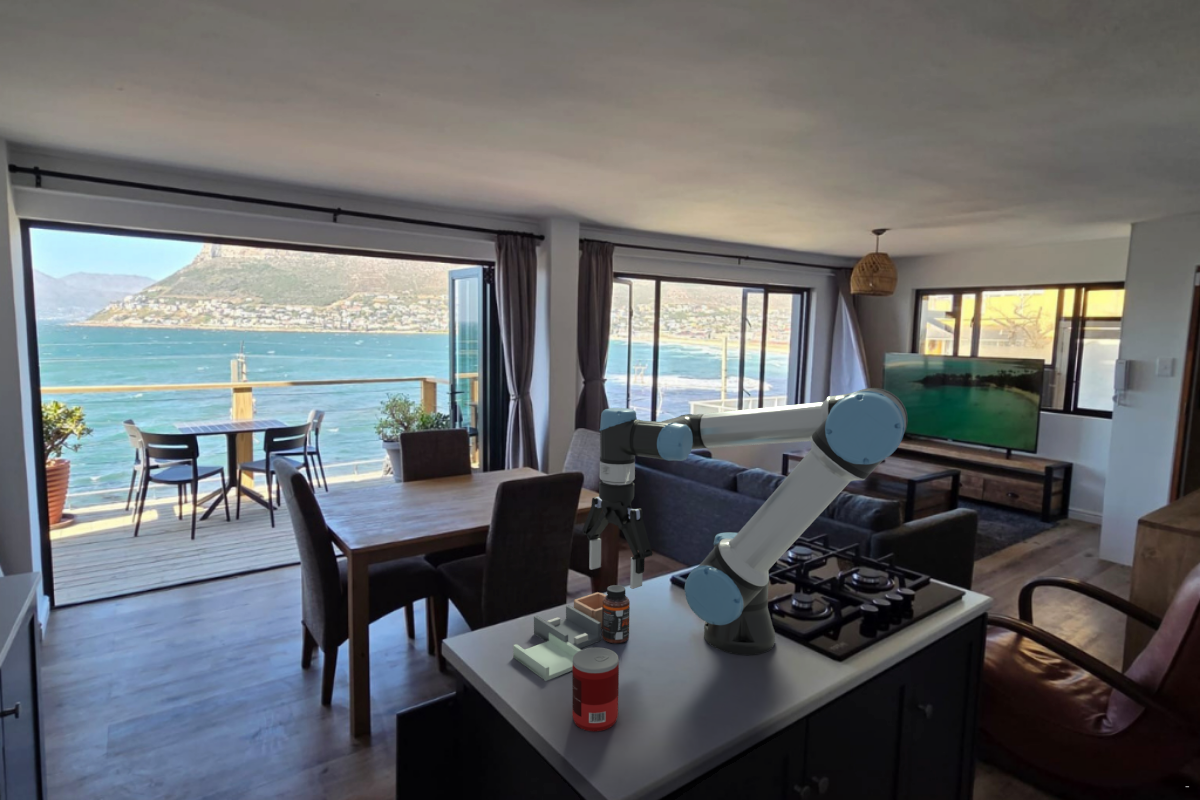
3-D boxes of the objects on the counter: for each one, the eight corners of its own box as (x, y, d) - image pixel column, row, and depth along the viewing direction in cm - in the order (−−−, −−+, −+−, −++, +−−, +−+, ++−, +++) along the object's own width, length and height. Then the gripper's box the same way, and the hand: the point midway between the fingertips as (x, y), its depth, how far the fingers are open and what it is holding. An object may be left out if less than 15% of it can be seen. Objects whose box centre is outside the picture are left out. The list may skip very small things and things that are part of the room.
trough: (585, 665, 126) (585, 652, 126) (545, 681, 120) (545, 668, 120) (551, 643, 135) (551, 631, 135) (513, 657, 129) (513, 645, 129)
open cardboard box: (620, 622, 145) (621, 602, 145) (594, 632, 140) (594, 611, 140) (598, 611, 151) (599, 591, 151) (572, 620, 146) (572, 600, 146)
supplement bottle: (626, 646, 134) (627, 594, 133) (599, 643, 135) (599, 592, 134) (631, 633, 140) (631, 584, 139) (604, 630, 141) (605, 582, 140)
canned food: (627, 717, 109) (628, 656, 108) (596, 739, 103) (596, 674, 102) (594, 700, 114) (594, 642, 113) (563, 720, 108) (563, 658, 107)
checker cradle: (600, 640, 137) (600, 622, 136) (565, 654, 130) (565, 635, 130) (568, 621, 145) (568, 605, 145) (533, 634, 139) (533, 616, 139)
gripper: (567, 472, 142) (566, 564, 144) (644, 495, 122) (641, 600, 125) (593, 468, 146) (592, 557, 148) (671, 490, 127) (668, 591, 129)
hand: (614, 577), depth 137 cm, fingers open, 13 cm apart
